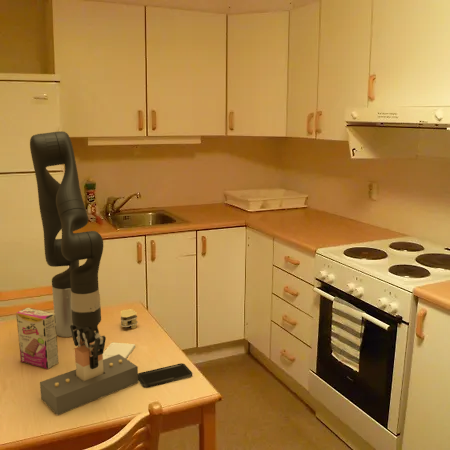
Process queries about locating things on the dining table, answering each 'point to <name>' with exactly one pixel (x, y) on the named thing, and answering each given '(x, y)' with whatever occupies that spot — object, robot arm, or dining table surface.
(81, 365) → the plug
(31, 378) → the dining table surface
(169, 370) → the phone
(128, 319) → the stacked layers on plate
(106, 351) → the external hard drive
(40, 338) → the candy bar box
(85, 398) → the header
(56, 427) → the dining table surface
